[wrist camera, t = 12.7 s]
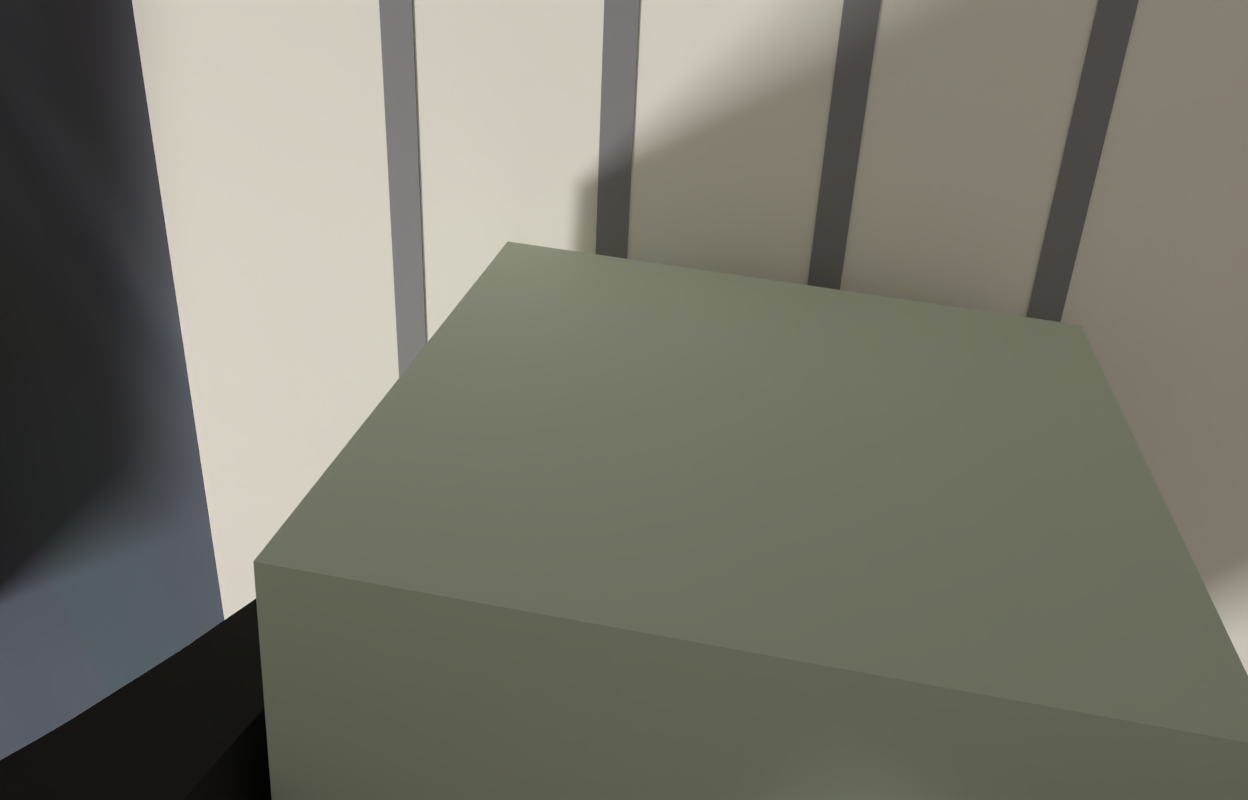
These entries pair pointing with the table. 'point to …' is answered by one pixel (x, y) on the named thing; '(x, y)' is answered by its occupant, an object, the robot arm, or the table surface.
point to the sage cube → (741, 561)
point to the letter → (700, 197)
